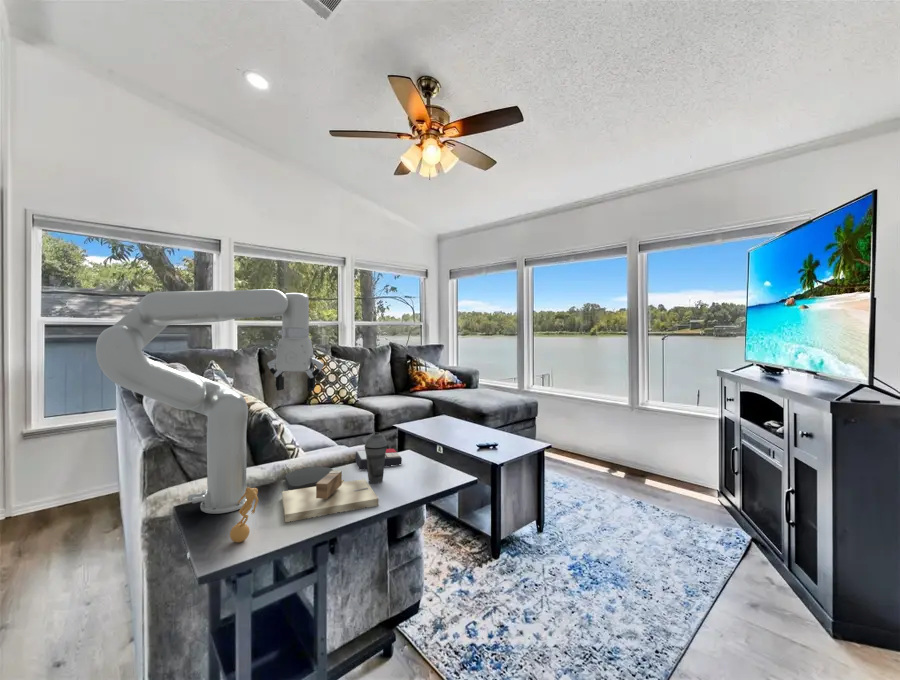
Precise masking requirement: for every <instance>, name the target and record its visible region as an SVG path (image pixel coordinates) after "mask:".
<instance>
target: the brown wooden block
mask: <svg viewBox="0 0 900 680" xmlns="http://www.w3.org/2000/svg"><path fill="white" fill-rule="evenodd" d="M342 477H343V475H342V470H334V469H333V470H332V471H331V472H329V474H327V475H326V476H325V477H324V478H322V479H321V480H320V481H319V482H317V483H316V498H322V499H327V498H328V497H329V496H332V495H334V492H335V491H336V490H337V489H338V488H339V487H340V486H341V485H342V480H343V479H342Z"/></svg>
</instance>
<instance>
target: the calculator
mask: <svg viewBox="0 0 900 680" xmlns="http://www.w3.org/2000/svg"><path fill="white" fill-rule="evenodd" d="M354 460H355V463H356V465H357V467H358V469H359V470H360V469H364V470H367V458H366V452H365V450H357V451H355V458H354ZM402 460H403V458H402V457H401V455H400V454H399V453H398V452H397V450H396V449H395V448H387V449H386V452H385V463H384V466H389V467H392V466H391V465H397V466H400V465H399V464H401V465H402Z"/></svg>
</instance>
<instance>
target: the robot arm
mask: <svg viewBox="0 0 900 680" xmlns="http://www.w3.org/2000/svg"><path fill="white" fill-rule="evenodd" d="M309 300H310V298H309V296H308V294H306V293H300V292H288V293H283V292H282V291H280V290H278V289H270V288H269V289H241V290H240V289H239V290H238V289H237V290H235V289H233V290H223V289H222V290H221V289H218V290H217V289H216V290H215V289H214V290H185V291H184V290H183V291H181V290H180V291H178V290H177V291H155V292H150V293H148V294H146V295H144V296H143V297H142V299H141V300H140V302H138V303H137V304H136V306H134V308H132V309H131V310H130V311H129V312H128V313H126V314H125V315H124V316H123V317H122V318H121V319H119V320H118V321H117V322H116V323H114V325H112V326H109V327H108V328H105V329H104V330H103V331H102V332H101V333H99V336H98V337H97V340H96V345H95V356H96V360H97V364H98V367H99V368H100V371H102V373H103V374H104V375H105V377H107V378H108V379H109V380H110V381H111V382H113V383H114V384H116V385H118V386H120V387H122V388H124V389H126V390H129V391H131V392H135V393H136V394H139V395H142V396H144V397H146V398H149V399H152V400H155V401H157V402H160V403H163V404H165V405H168V406H170V407H172V408H174V409H177V410H182V411H184V410H185V411H187V410H189V411H192V412H195V413H198V414H201V415H204V416H206V418H207V428H206V429H207V431H206V455H207V456H206V461H207V462H206V473H207V475H206V477H207V482H206V484H207V487H206V490H201V492H198V493H197V492H195V493H188V495H187V501H188V502H191V503H192V504H197V503H200V511H201V512H204V513H206V514H212V515H214V514H216V515H217V514H219V515H220V514H226V513H231V512H235V511H238V510H240V509H241V508H242V506H243V505H244V503H245V502H246V496H245V497H244V498H243V499H242V500H241V501H240V503H238V502H239V500H240V499H241V497H242V496H243V495H244V494H245V491H246V488H247V429H248V418H249V417H248V416H249V409H248V407H249V406H248V403H247V401H246V399H245V398H244V396H243V395H242V394H240V393H239V392H238V391H236V390H234V389H233V388H230V387H227V386H225V385H223V384H220V383H218V382H216V381H214V380H211V379H208V378H205V377H204V376H201V375H199V374H197V373H193V372H189V371H179V370H177V369H174V368H173V367H169V366H167V365H165V364H162V363H160V362H158V361H155V360H153V359H151V358H149V357H147V356H146V355H145V354H144V353H143V349H144V348H145V347H146V346H147V345H148V344H149V343H150V342H152V341H153V339H155V338H156V337H157V336H158V335H159V334H160V333H161V332H163V331H164V330H165V328H167V327H168V326H171V325H188V324H189V325H191V324H201V323H203V324H204V323H205V324H206V323H217V322H218V323H219V322H221V323H222V322H227V321H230V320H231V321H232V320H237V319H248V318H249V319H250V318H263V317H264V318H272V317H282V318H281V324H282V325H281V326H282V328H281V329H280V330H278V335H279V336H280V335H281V338H279V339H278V343H277V348H276V357H275V358H274V359H272V360H270V361H268V362H267V363H266V364H267V367H268V368H269V371H270V373H271V374H272V375H273V376H274V378H275V387H276V391H282V390H284V389H285V376H283V375H284V374H285V372H286V373H293V372H294V373H305V374H306V375H307V376H308V377H307V386H306V387H307V392H312V391H315V388H316V377H317V376H318V375H319V374H320V373H321V372H322V369H323V367H324V365H325V363H324V362H322V361H321V360H318V359H317V358H315V357H314V350H313V345H312V344H313V342H312V339H311V338H310V337H309V336H310V334H309V333H310V329H309V328H310V323H309V322H310V319H309V317H310V316H309V315H310V311H309V310H310V309H309V307H310V301H309ZM315 365H316V368H315V369H314V366H315Z"/></svg>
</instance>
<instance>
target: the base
mask: <svg viewBox="0 0 900 680" xmlns="http://www.w3.org/2000/svg"><path fill="white" fill-rule="evenodd" d="M281 500H282V501H281V502H282V507H283V508H284V509H283V508H282V509H283V516H285V517H284V522H285V523H289V522H290V521H291V522H295V521H300V520H305V519H306V518H307V519H312V518H311V517H313V518H317V517H316V516H318V517H321V516H320V515H323V516H327V515H326V514H329V515H333V514H332V513H334V514H338V513H337V512H340V513H344V512H343V511H345V512H349V511H348V510H351V511H354V510H353V509H356V510H360V508H362V509H366V508H365V507H367V508H372V507H377V506H379V497H378V495H377V494H376V493H375V492H374V490H373V488H372V487H371V485H370V483H369V482H368V481H367V480H366V479H365V478H364V479H363V478H362V479H356V480H351V481H350V480H349V481H345V480H343V479H342V485H341V486H340V487H339V488H338V489H337V490H336V491H335V492H334V495H332V496H329V497H328V498H327V499H322V498H316V486H315V487H309V488H302V489H296V490H289V489H288V490H284V491H282V492H281Z"/></svg>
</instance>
